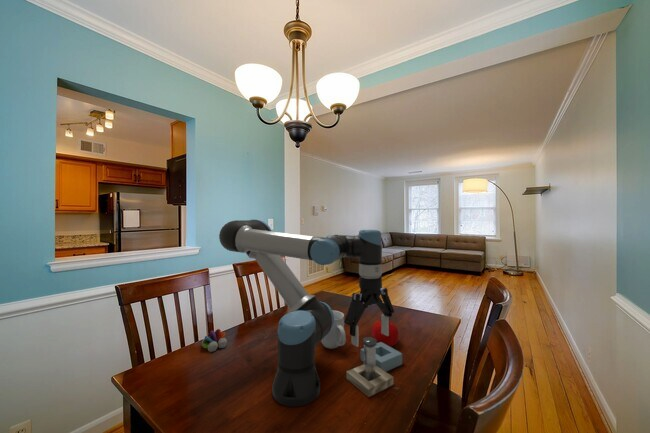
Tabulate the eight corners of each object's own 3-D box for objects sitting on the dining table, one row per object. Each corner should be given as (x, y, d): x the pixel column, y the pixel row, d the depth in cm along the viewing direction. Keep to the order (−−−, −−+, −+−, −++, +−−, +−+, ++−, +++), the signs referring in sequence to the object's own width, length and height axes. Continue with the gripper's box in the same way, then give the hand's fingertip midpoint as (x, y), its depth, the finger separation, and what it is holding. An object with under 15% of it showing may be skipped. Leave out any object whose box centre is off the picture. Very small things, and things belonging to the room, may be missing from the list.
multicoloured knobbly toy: (230, 346, 112) (230, 329, 112) (207, 355, 105) (207, 337, 105) (220, 340, 118) (221, 323, 118) (198, 348, 111) (198, 330, 111)
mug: (355, 350, 109) (355, 319, 109) (333, 358, 103) (333, 325, 103) (334, 336, 122) (334, 308, 121) (313, 343, 116) (313, 313, 115)
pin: (369, 387, 86) (369, 344, 86) (359, 380, 90) (359, 339, 90) (379, 383, 88) (379, 341, 88) (369, 375, 92) (370, 335, 92)
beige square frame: (368, 397, 81) (368, 389, 81) (346, 378, 91) (346, 371, 91) (393, 384, 87) (393, 377, 87) (370, 368, 97) (370, 361, 97)
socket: (381, 373, 93) (381, 362, 93) (360, 359, 103) (360, 349, 103) (402, 364, 100) (402, 353, 99) (380, 351, 109) (380, 341, 109)
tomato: (394, 354, 107) (394, 328, 107) (367, 346, 112) (367, 322, 112) (401, 341, 117) (401, 318, 117) (376, 335, 123) (376, 313, 123)
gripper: (348, 283, 79) (348, 355, 79) (404, 273, 92) (404, 334, 93) (333, 278, 85) (333, 345, 85) (388, 269, 99) (388, 326, 99)
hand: (370, 339), depth 89 cm, fingers open, 13 cm apart
